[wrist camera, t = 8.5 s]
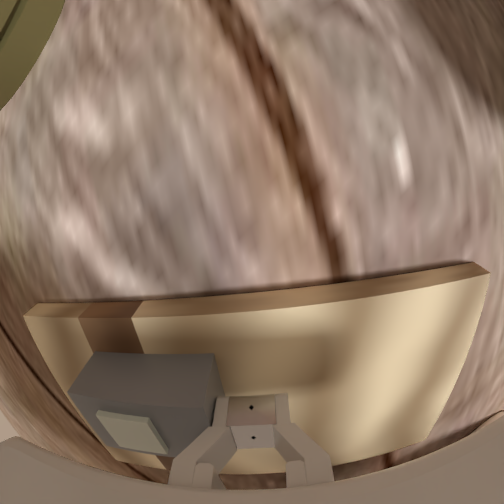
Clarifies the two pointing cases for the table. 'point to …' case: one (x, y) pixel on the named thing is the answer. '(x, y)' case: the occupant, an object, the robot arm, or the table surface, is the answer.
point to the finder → (148, 399)
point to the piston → (23, 39)
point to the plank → (297, 354)
